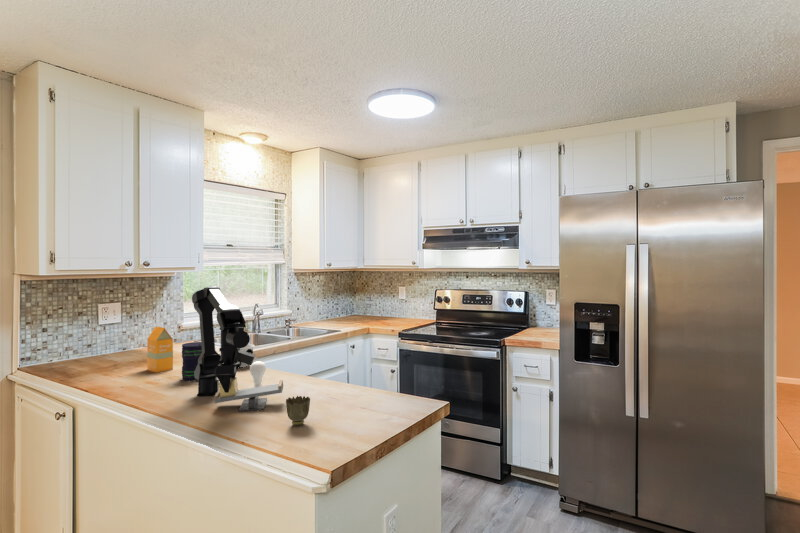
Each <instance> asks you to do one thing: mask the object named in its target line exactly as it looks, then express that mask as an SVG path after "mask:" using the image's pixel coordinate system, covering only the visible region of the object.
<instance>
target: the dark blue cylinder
mask: <svg viewBox="0 0 800 533" xmlns="http://www.w3.org/2000/svg"><path fill="white" fill-rule="evenodd" d="M181 347H182V348H181V358H182V367H181V376H182V377H181V381H183V382H198V380H197V379H195V377H194V372H195V369H196V367H197V365H198V359H199V357H200V355H201V353H202V345H201V341H200V342H199V341H194V342H187V343H183V344H182V345H181Z"/></svg>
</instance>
